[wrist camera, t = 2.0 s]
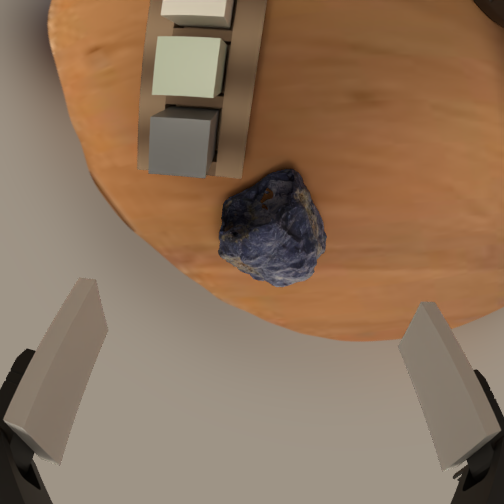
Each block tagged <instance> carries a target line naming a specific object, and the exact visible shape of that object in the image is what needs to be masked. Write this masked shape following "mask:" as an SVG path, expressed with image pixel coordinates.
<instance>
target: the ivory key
mask: <svg viewBox="0 0 504 504" xmlns="http://www.w3.org/2000/svg"><path fill="white" fill-rule="evenodd" d="M234 1H235V0H163V2H162V9H161V16H163V17H165V18H167V19H168V20H170V21H172V22H174V23H176V24H177V25H179V26H194V27H215V28H229V29H230V26H231V20H232V13H233V7H234Z"/></svg>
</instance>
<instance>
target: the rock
mask: <svg viewBox="0 0 504 504" xmlns="http://www.w3.org/2000/svg"><path fill="white" fill-rule="evenodd" d="M267 188H269V189H270V190H272V191H273V198H271V199H267V200H266V201H265V202H264V203H261V202H260V201H261V199H262V197H263V195H264V193H266V194H268V193H269V192H268V191H266V189H267ZM262 204H264V205H266V206H267V208H268V210H266V209H265V208H263V209H262ZM221 219H222V225H221V229H220V232H219V240H220V248H219V250H218V253H219V255H220V257H222V258H223V259H226V261H227V262H229V263H231V264H232V265H233V266H235V267H237V268H238V269H239V270H240V271H242V272H244V273H247V274H250V275H251V277H252V278H253V279H256V280H258V281H264V280H265V281H267V282H269V283H270V284H272V285H273V286H276V287H284V286H288V285H291V284H293V283H295V282H300V281H305V280H306V279H308V278H309V277H310V276H312V274H313V273H314V272H315V271H314V267H315V266H316V265H317V259H318V258H319V257H320V255H321V254H323V253H324V252H325V247H326V238H327V236H326V233H325V232H324V226H323V221H322V218H321V216H320V214H319V212H318V210H317V208H316V207H315V205H314V203H313V201H312V199H311V196H310V192H309V191H308V190H307V188H306V186H305V185H304V183H303V179H302V177H301V175H300V174H299V173H298V172H296V171H295V170H294V169H285V170H281V171H277V172H273V173H271V174H268V175H267V176H266V177H264V178H262V179H261V181H259V182H258V183H256V184H255V185H254V186H252V187H250V188H248V189H246V190H244V191H243V192H241V193H238V194H236V195H234V196H232V197H230V198H229V199H227V200H226V201H225V202H224V204H223V209H222V217H221Z"/></svg>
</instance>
